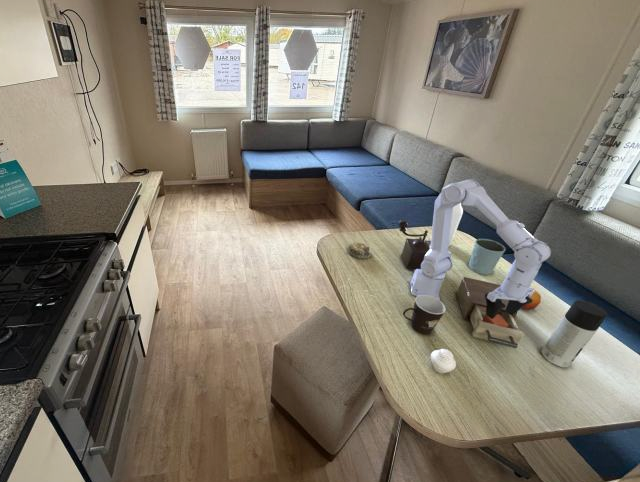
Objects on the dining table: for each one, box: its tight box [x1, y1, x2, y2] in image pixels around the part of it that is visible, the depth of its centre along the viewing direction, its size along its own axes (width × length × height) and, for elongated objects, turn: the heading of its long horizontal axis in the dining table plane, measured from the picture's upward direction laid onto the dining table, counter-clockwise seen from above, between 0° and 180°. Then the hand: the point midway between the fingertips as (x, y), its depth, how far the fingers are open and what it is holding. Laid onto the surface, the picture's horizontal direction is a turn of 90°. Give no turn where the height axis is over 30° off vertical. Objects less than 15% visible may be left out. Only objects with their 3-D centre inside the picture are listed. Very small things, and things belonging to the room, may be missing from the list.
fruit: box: [521, 287, 542, 311], centre depth 110 cm, size 8×8×8 cm
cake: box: [347, 241, 372, 259], centre depth 138 cm, size 10×10×5 cm
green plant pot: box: [468, 238, 506, 276], centre depth 128 cm, size 10×10×12 cm
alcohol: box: [448, 202, 464, 247], centre depth 142 cm, size 9×9×30 cm
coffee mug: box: [402, 295, 447, 336], centre depth 99 cm, size 12×9×10 cm
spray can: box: [541, 299, 608, 368], centre depth 87 cm, size 7×7×20 cm
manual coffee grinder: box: [397, 219, 431, 271], centre depth 129 cm, size 16×11×18 cm
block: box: [483, 314, 509, 327], centre depth 97 cm, size 4×4×4 cm
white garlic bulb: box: [430, 348, 457, 374], centre depth 86 cm, size 6×6×7 cm
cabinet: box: [456, 276, 519, 322], centre depth 107 cm, size 15×13×8 cm
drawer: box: [469, 305, 525, 349], centre depth 98 cm, size 18×11×6 cm, turn 159°
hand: (499, 314), depth 95 cm, fingers open, 7 cm apart
